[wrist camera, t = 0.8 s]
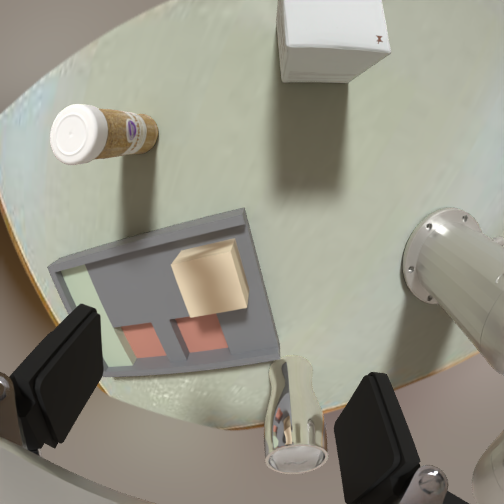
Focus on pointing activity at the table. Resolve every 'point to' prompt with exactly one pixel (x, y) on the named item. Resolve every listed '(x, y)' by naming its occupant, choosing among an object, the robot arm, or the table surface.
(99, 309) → the box
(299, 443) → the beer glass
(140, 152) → the sprinkles bottle
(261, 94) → the table surface
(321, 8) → the supplement box
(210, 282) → the maple block
